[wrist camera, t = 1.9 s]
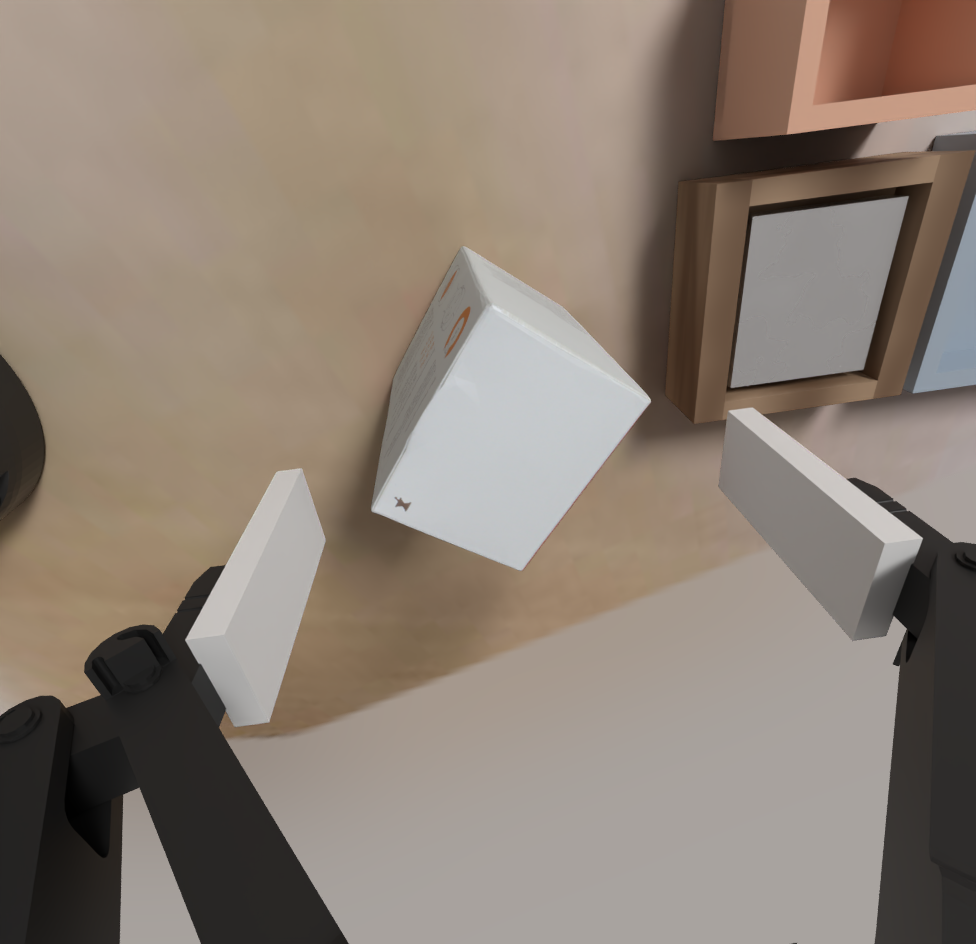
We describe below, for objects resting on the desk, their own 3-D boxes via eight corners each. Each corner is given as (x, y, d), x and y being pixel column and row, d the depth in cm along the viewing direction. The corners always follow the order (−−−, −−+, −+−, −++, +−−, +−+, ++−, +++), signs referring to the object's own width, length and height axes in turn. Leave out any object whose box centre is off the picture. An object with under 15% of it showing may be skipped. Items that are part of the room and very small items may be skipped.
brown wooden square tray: (665, 395, 31) (694, 423, 27) (678, 181, 25) (717, 184, 22) (849, 369, 31) (900, 394, 28) (902, 152, 26) (975, 150, 22)
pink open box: (712, 140, 25) (786, 134, 19) (734, -101, 21) (835, -190, 15) (880, 119, 25) (998, 106, 20) (934, -126, 21) (1101, -222, 16)
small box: (489, 428, 31) (521, 578, 20) (390, 379, 29) (363, 514, 18) (567, 305, 28) (658, 401, 17) (462, 240, 26) (484, 298, 15)
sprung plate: (719, 379, 28) (730, 388, 27) (739, 214, 24) (752, 216, 23) (847, 362, 28) (863, 369, 27) (888, 194, 24) (908, 196, 23)
